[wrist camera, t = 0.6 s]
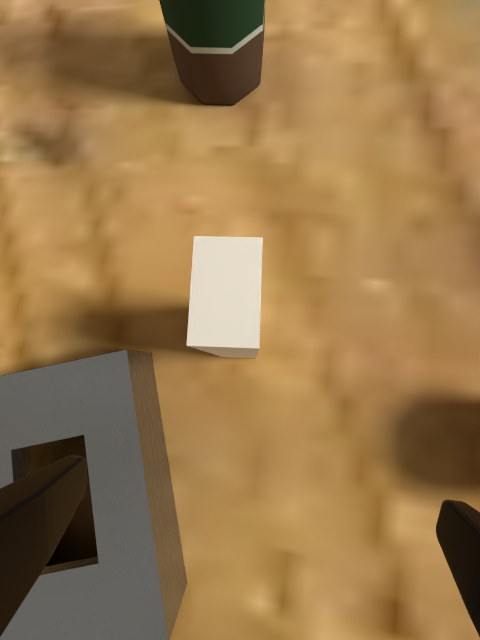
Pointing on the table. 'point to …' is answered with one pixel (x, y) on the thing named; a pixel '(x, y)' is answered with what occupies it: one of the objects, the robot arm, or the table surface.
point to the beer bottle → (217, 46)
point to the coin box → (100, 499)
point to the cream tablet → (225, 296)
